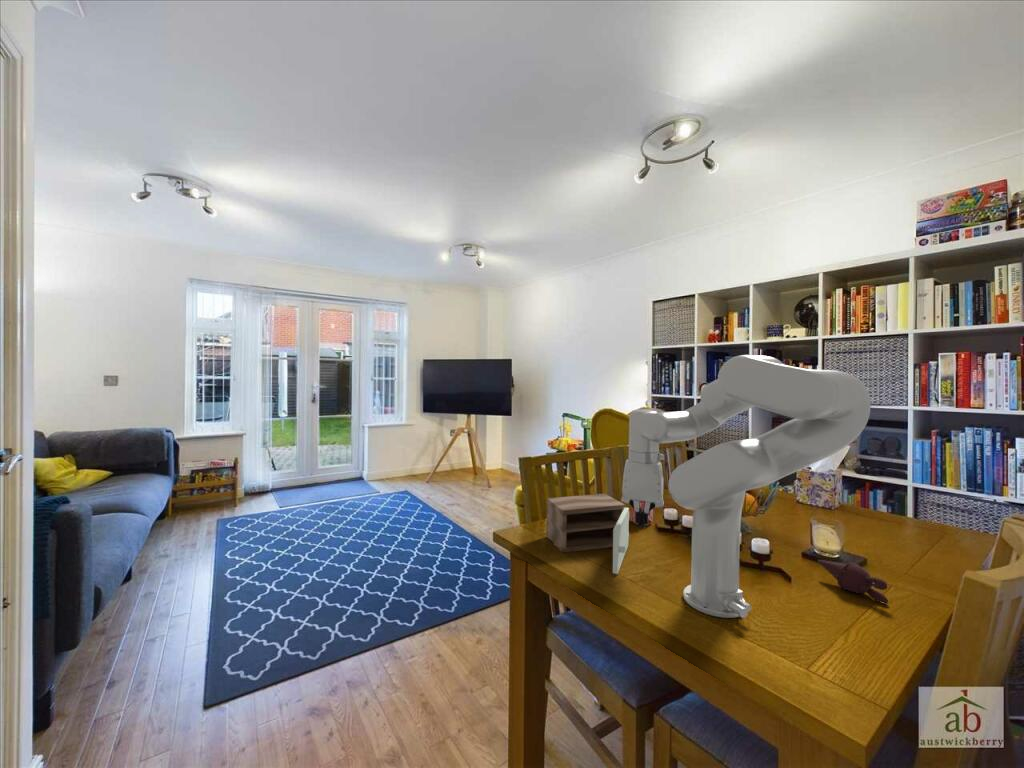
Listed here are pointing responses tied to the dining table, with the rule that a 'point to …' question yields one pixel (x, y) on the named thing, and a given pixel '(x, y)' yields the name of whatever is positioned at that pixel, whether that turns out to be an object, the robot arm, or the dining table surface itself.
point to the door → (620, 540)
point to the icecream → (855, 579)
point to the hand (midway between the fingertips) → (641, 526)
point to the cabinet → (582, 521)
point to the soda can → (642, 505)
